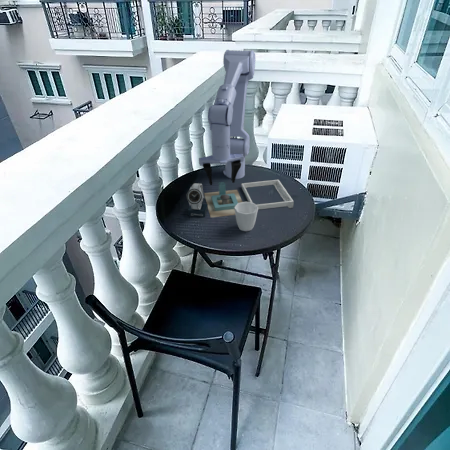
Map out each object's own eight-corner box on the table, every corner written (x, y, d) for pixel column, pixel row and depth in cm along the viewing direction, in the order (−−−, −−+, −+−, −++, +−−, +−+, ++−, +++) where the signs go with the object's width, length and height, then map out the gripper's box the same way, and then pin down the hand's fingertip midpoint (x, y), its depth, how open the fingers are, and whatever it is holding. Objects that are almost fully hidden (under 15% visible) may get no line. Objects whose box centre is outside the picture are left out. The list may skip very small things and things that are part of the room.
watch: (186, 221, 104) (183, 191, 98) (193, 208, 111) (190, 178, 105) (204, 223, 104) (202, 192, 97) (209, 209, 110) (207, 180, 104)
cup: (233, 236, 98) (233, 213, 93) (235, 217, 106) (235, 195, 101) (257, 237, 97) (258, 214, 92) (257, 218, 105) (258, 196, 101)
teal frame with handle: (210, 195, 115) (210, 183, 113) (232, 193, 117) (232, 180, 114) (215, 211, 107) (214, 197, 105) (239, 208, 108) (239, 195, 106)
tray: (241, 189, 121) (241, 183, 120) (278, 185, 123) (278, 179, 121) (252, 212, 108) (252, 206, 107) (293, 207, 110) (293, 201, 109)
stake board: (204, 195, 118) (203, 186, 116) (237, 192, 119) (237, 183, 117) (210, 220, 105) (210, 210, 103) (247, 215, 107) (247, 206, 104)
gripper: (199, 150, 100) (202, 190, 108) (246, 146, 102) (245, 185, 110) (197, 142, 106) (199, 180, 114) (241, 138, 108) (240, 176, 116)
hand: (221, 182), depth 112 cm, fingers open, 7 cm apart
